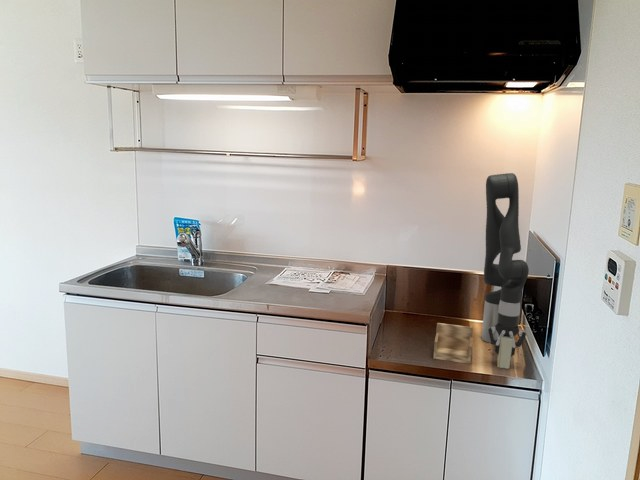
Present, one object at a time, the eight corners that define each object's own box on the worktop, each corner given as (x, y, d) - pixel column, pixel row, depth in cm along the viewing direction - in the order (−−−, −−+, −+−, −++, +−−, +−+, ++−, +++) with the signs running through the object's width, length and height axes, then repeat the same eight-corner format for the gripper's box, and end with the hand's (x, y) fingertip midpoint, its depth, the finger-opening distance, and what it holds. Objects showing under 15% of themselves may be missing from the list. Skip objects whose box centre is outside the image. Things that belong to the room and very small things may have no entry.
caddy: (470, 352, 202) (473, 327, 200) (470, 363, 192) (473, 336, 190) (435, 348, 206) (437, 322, 204) (433, 358, 196) (435, 331, 194)
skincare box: (496, 360, 196) (499, 331, 193) (508, 362, 194) (512, 332, 192) (497, 367, 190) (500, 337, 187) (509, 369, 188) (513, 339, 186)
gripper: (528, 311, 189) (523, 353, 193) (488, 306, 193) (484, 348, 197) (530, 317, 182) (525, 361, 186) (489, 313, 186) (484, 356, 190)
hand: (504, 354), depth 191 cm, fingers closed on skincare box, 4 cm apart
